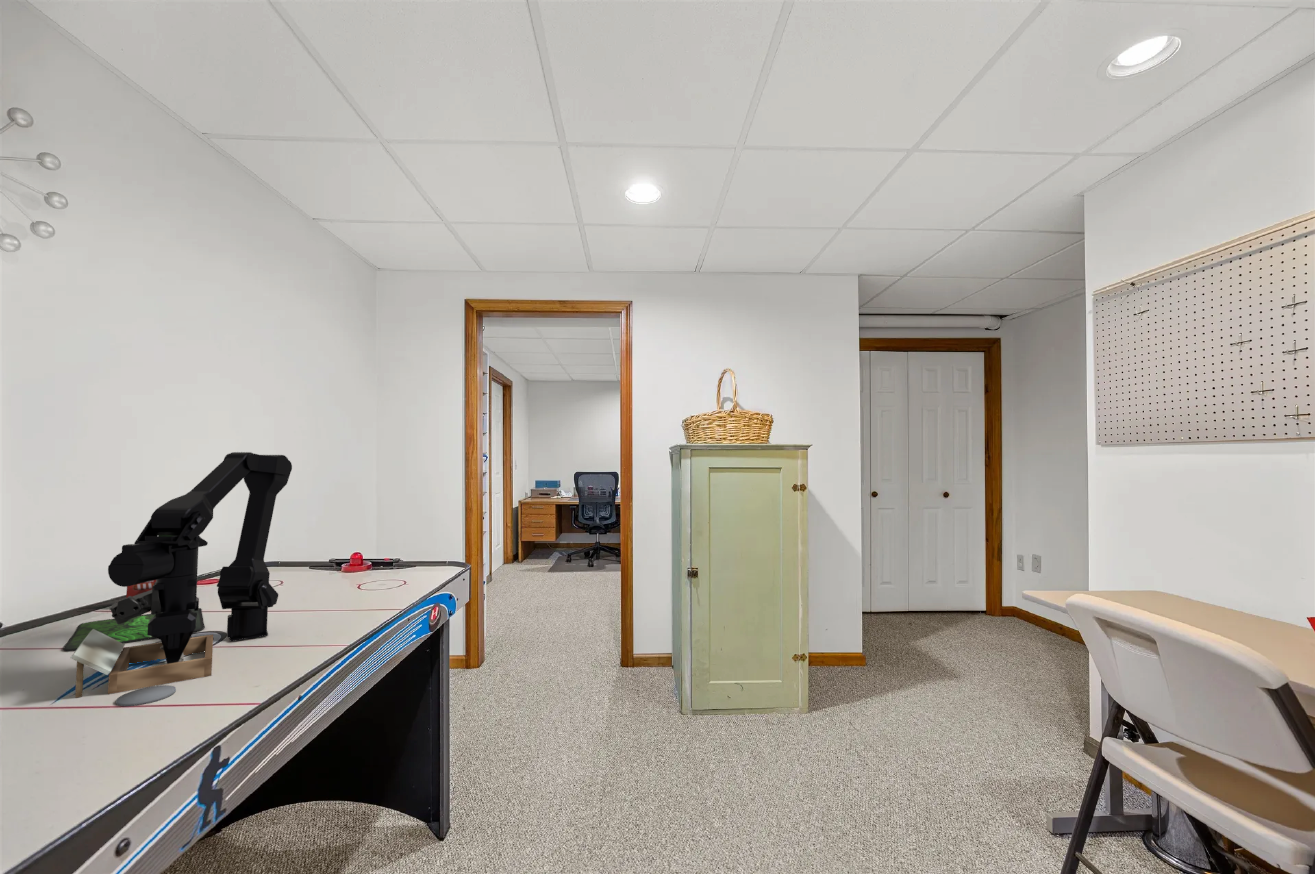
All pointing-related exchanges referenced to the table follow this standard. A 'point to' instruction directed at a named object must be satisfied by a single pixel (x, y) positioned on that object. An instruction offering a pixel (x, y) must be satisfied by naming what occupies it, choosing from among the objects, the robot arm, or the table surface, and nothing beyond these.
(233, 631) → the robot arm
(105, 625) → the mouse mat
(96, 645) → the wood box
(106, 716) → the table surface
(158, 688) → the felt pad
